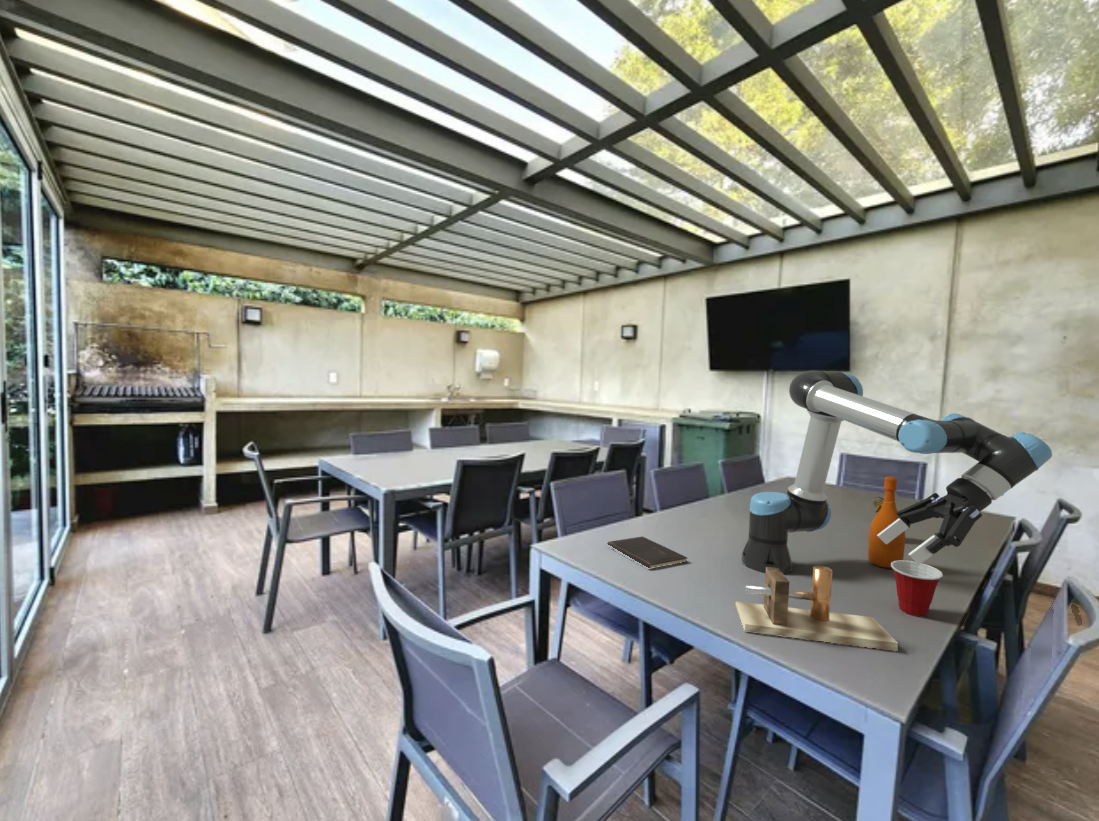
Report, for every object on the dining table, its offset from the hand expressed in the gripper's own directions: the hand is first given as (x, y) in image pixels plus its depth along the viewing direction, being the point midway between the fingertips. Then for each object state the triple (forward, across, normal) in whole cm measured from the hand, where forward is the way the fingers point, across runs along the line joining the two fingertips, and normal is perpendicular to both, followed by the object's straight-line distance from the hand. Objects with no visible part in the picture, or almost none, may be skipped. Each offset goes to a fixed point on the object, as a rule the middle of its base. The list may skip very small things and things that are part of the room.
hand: (896, 549), depth 108 cm
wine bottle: (-2, +54, -32) cm, 63 cm away
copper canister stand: (+27, +1, -3) cm, 27 cm away
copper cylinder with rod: (+29, +1, +3) cm, 29 cm away
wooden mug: (-11, +85, -42) cm, 95 cm away
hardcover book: (+55, +42, +24) cm, 73 cm away
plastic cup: (+6, +18, -25) cm, 31 cm away
